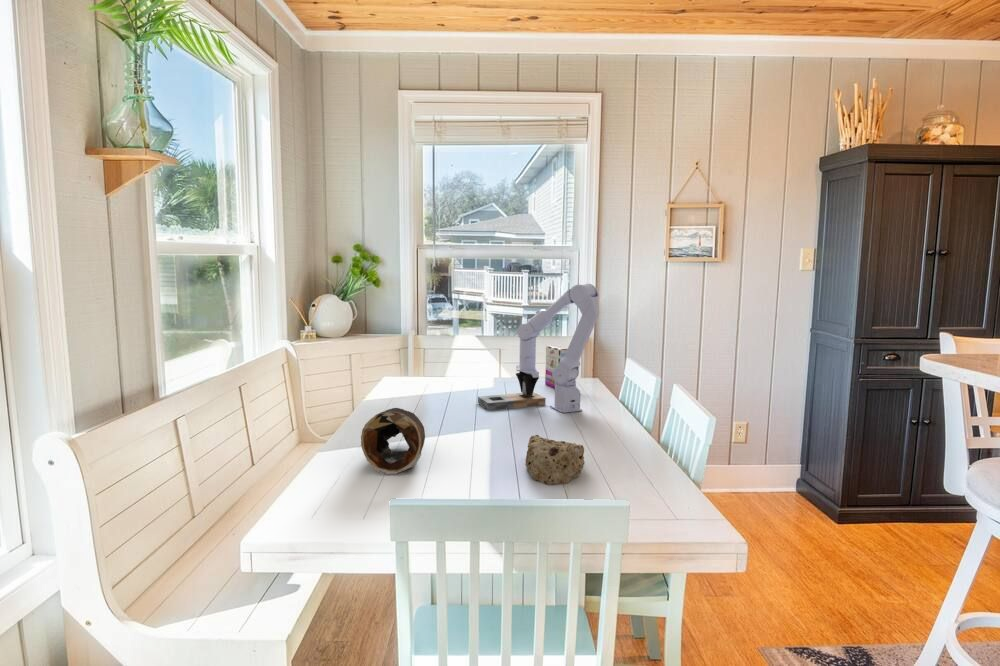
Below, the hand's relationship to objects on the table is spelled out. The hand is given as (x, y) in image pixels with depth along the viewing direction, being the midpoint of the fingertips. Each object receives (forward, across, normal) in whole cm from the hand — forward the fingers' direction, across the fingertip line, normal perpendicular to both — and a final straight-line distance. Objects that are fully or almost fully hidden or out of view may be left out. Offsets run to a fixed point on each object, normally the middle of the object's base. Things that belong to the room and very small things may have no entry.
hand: (526, 393), depth 215 cm
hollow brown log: (+4, +42, -57) cm, 71 cm away
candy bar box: (+4, -20, +23) cm, 31 cm away
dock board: (+3, 0, -6) cm, 7 cm away
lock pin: (+3, 0, 0) cm, 3 cm away
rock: (+4, +65, -23) cm, 69 cm away
